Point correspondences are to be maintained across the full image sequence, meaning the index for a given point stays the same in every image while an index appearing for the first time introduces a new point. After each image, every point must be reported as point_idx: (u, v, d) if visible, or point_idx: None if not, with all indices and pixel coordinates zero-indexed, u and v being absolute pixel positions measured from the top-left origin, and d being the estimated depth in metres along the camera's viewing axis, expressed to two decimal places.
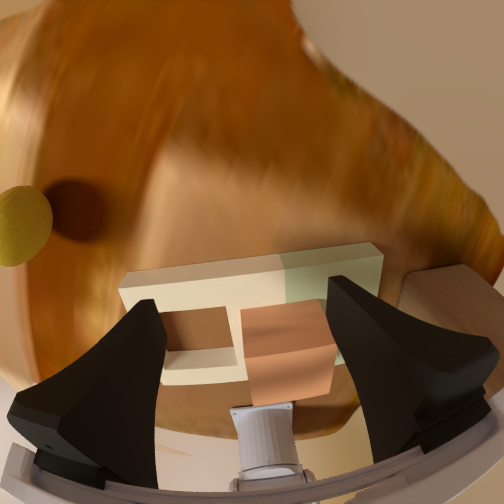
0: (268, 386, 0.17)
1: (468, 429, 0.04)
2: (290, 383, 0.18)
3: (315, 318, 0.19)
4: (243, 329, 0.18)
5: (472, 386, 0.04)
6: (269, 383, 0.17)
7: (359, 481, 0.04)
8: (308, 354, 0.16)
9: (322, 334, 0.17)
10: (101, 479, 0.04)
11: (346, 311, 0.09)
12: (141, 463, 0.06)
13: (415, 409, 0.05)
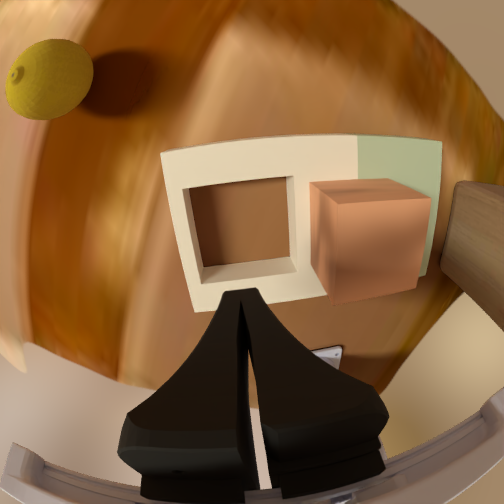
0: (358, 263, 0.14)
1: (352, 483, 0.04)
2: (382, 260, 0.14)
3: (396, 186, 0.15)
4: (322, 190, 0.15)
5: (348, 440, 0.04)
6: (360, 257, 0.14)
7: (359, 481, 0.04)
8: (405, 209, 0.13)
9: (411, 193, 0.13)
10: (242, 491, 0.04)
11: (246, 326, 0.09)
12: (254, 464, 0.06)
13: None
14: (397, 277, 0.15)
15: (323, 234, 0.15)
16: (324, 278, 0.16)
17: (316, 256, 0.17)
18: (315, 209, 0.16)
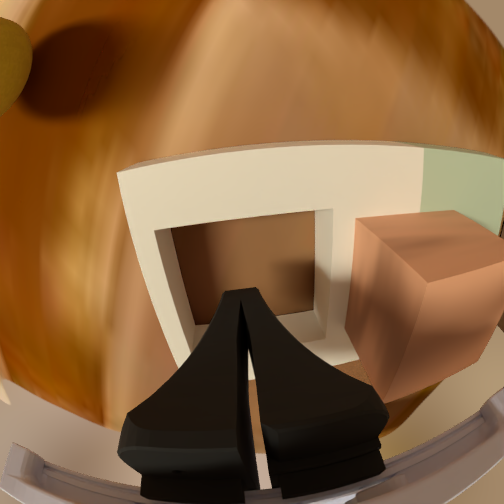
0: (428, 355, 0.08)
1: (352, 483, 0.04)
2: (456, 345, 0.08)
3: (473, 227, 0.09)
4: (385, 240, 0.08)
5: (348, 440, 0.04)
6: (433, 348, 0.07)
7: (359, 480, 0.04)
8: (498, 274, 0.06)
9: (500, 245, 0.07)
10: (242, 491, 0.04)
11: (246, 326, 0.09)
12: (255, 464, 0.06)
13: None
14: (464, 357, 0.08)
15: (378, 308, 0.09)
16: (370, 363, 0.10)
17: (359, 327, 0.11)
18: (364, 263, 0.10)
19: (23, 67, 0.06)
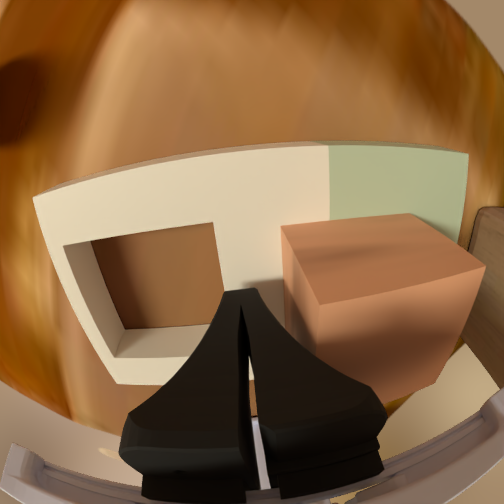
0: None
1: (350, 484, 0.04)
2: (393, 369, 0.08)
3: (426, 233, 0.09)
4: (297, 251, 0.08)
5: (346, 441, 0.04)
6: (356, 373, 0.07)
7: (359, 481, 0.04)
8: (445, 292, 0.06)
9: (454, 254, 0.07)
10: None
11: (245, 326, 0.09)
12: (255, 464, 0.06)
13: None
14: (411, 380, 0.08)
15: (297, 323, 0.09)
16: None
17: None
18: (287, 274, 0.10)
19: None
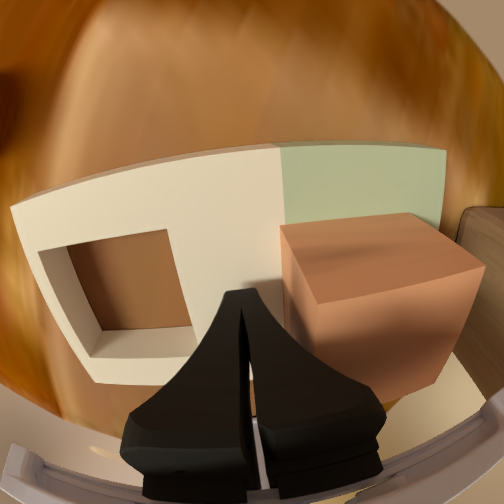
0: None
1: (349, 484, 0.04)
2: (392, 369, 0.08)
3: (425, 232, 0.09)
4: (296, 251, 0.08)
5: (345, 441, 0.04)
6: (355, 372, 0.07)
7: (359, 481, 0.04)
8: (444, 291, 0.06)
9: (453, 254, 0.07)
10: None
11: (244, 327, 0.09)
12: (256, 464, 0.06)
13: None
14: (411, 380, 0.08)
15: (296, 323, 0.09)
16: None
17: None
18: (286, 274, 0.10)
19: None
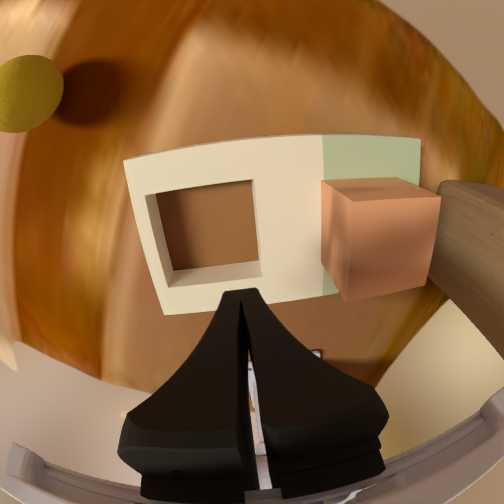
0: (371, 260, 0.14)
1: (352, 483, 0.04)
2: (394, 258, 0.14)
3: (406, 184, 0.15)
4: (335, 188, 0.15)
5: (348, 440, 0.04)
6: (373, 254, 0.14)
7: (359, 481, 0.04)
8: (416, 207, 0.13)
9: (421, 192, 0.13)
10: (241, 491, 0.04)
11: (246, 326, 0.09)
12: (254, 464, 0.06)
13: None
14: (408, 274, 0.15)
15: (335, 232, 0.15)
16: (336, 276, 0.16)
17: (328, 254, 0.17)
18: (327, 207, 0.16)
19: (60, 92, 0.12)
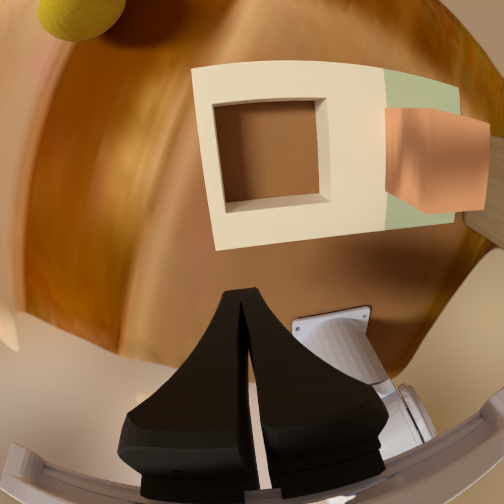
0: (446, 170, 0.12)
1: (352, 483, 0.04)
2: (462, 172, 0.12)
3: None
4: (404, 108, 0.13)
5: (348, 440, 0.04)
6: (447, 164, 0.12)
7: (359, 481, 0.04)
8: (474, 127, 0.11)
9: None
10: (242, 491, 0.04)
11: (246, 326, 0.09)
12: (255, 464, 0.06)
13: None
14: (472, 193, 0.13)
15: (408, 148, 0.13)
16: (411, 192, 0.14)
17: (397, 176, 0.15)
18: (394, 129, 0.14)
19: (123, 6, 0.10)
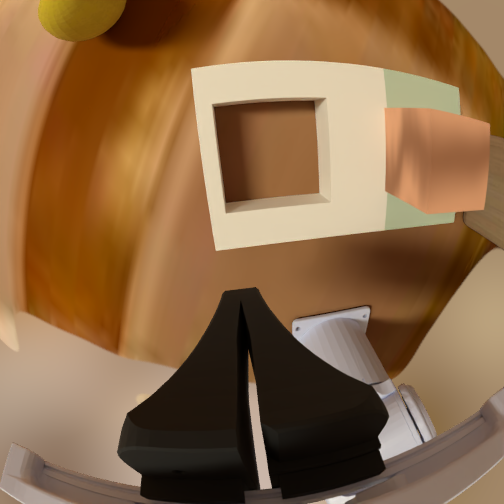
0: (446, 170, 0.12)
1: (352, 483, 0.04)
2: (462, 172, 0.12)
3: None
4: (404, 108, 0.13)
5: (348, 440, 0.04)
6: (447, 164, 0.12)
7: (359, 481, 0.04)
8: (474, 127, 0.11)
9: None
10: (242, 491, 0.04)
11: (246, 326, 0.09)
12: (255, 464, 0.06)
13: None
14: (472, 193, 0.13)
15: (408, 148, 0.13)
16: (411, 192, 0.14)
17: (397, 176, 0.15)
18: (394, 129, 0.14)
19: (123, 7, 0.10)
